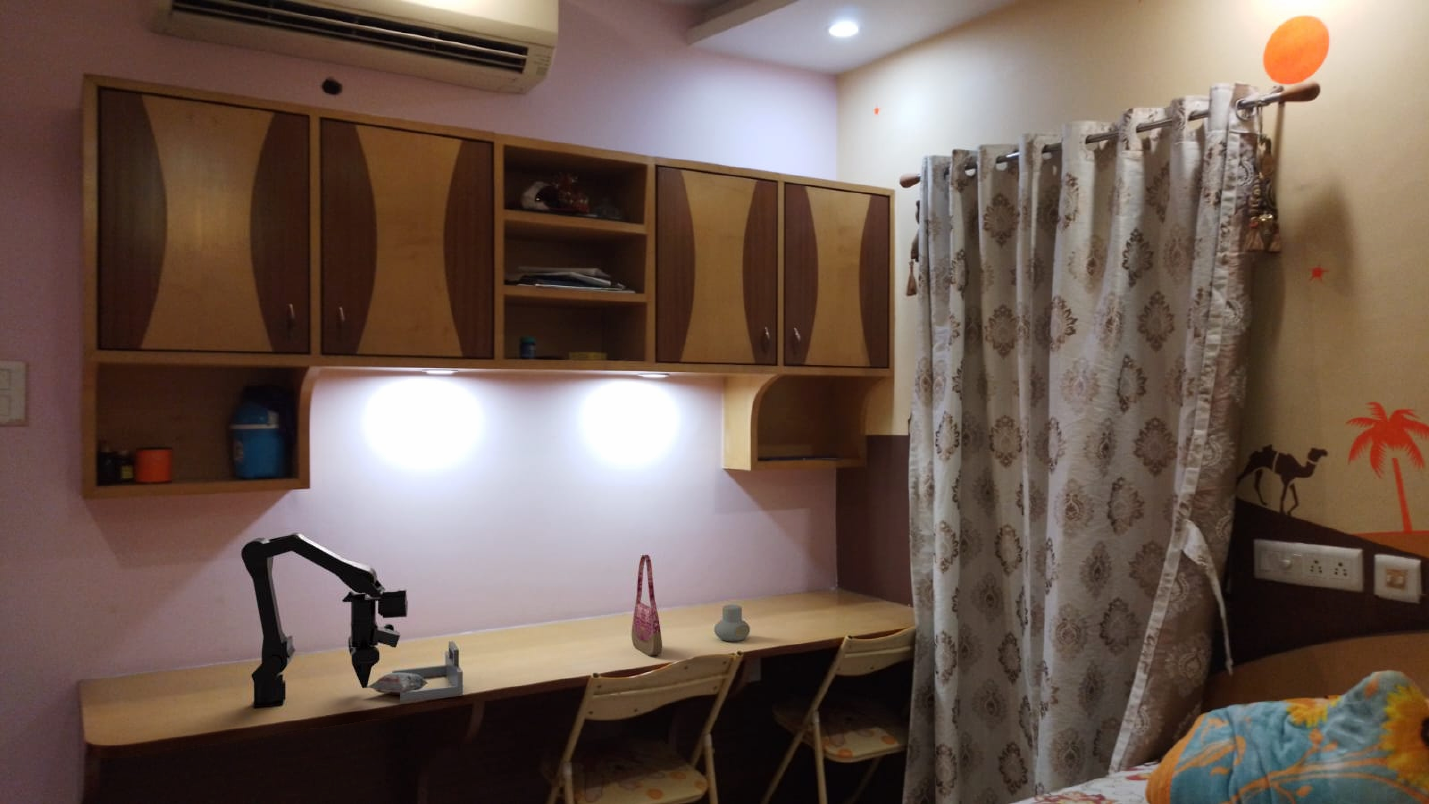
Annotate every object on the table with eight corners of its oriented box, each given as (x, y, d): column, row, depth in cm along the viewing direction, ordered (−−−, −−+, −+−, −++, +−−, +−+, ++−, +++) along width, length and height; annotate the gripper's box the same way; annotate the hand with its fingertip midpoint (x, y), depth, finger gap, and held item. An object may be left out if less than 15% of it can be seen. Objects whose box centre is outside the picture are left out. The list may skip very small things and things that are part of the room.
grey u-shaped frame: (400, 703, 229) (400, 662, 229) (392, 680, 248) (392, 641, 248) (462, 696, 235) (462, 655, 235) (449, 673, 254) (449, 636, 254)
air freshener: (734, 634, 298) (734, 602, 298) (754, 638, 292) (754, 606, 292) (709, 640, 290) (709, 607, 290) (729, 645, 284) (729, 611, 284)
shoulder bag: (630, 645, 284) (630, 551, 284) (640, 644, 285) (640, 550, 285) (653, 659, 269) (653, 559, 269) (662, 657, 270) (662, 559, 270)
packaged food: (404, 698, 229) (405, 676, 230) (366, 695, 233) (366, 674, 234) (428, 692, 237) (428, 671, 238) (390, 689, 241) (391, 669, 242)
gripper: (401, 624, 228) (401, 689, 228) (394, 608, 245) (394, 669, 245) (352, 628, 224) (351, 695, 224) (348, 612, 241) (347, 674, 241)
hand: (363, 682), depth 234 cm, fingers open, 9 cm apart
